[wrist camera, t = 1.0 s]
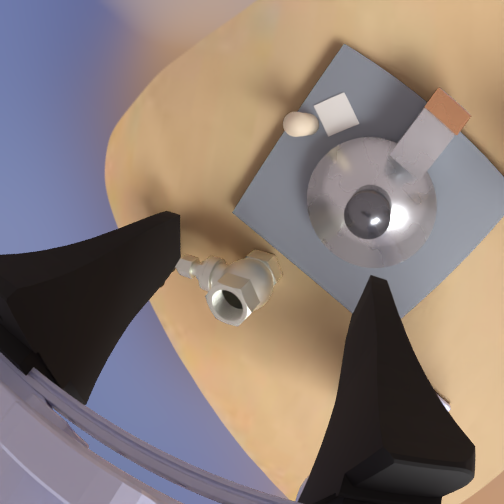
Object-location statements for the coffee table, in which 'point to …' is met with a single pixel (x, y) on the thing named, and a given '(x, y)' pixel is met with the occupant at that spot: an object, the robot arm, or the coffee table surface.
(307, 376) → the coffee table surface
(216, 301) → the valve
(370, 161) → the silver lidded pan
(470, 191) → the board
